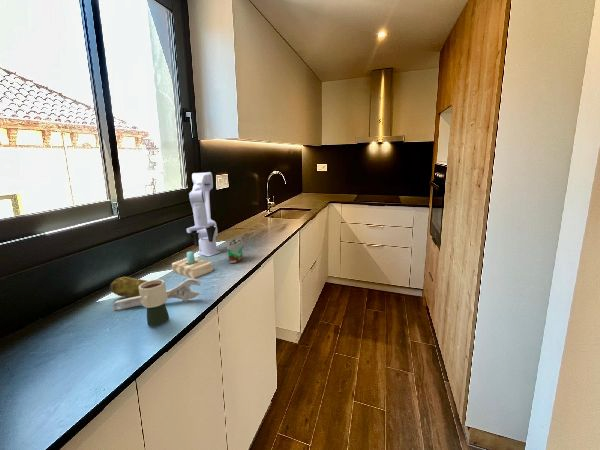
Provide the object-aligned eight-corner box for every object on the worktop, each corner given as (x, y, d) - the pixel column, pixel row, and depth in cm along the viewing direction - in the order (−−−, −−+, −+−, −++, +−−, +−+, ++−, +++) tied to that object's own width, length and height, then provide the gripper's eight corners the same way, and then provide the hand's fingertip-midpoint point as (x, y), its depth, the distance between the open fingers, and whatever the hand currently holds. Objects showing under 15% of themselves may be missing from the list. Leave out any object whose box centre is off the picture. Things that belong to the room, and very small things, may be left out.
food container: (241, 264, 135) (239, 244, 132) (229, 265, 135) (226, 245, 133) (247, 256, 147) (245, 237, 144) (235, 256, 147) (233, 238, 145)
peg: (188, 271, 130) (185, 252, 128) (193, 269, 132) (191, 251, 130) (191, 272, 128) (188, 253, 126) (197, 270, 130) (194, 252, 128)
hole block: (173, 271, 131) (171, 263, 130) (192, 264, 139) (191, 256, 138) (193, 278, 122) (191, 269, 121) (212, 270, 129) (211, 262, 129)
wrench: (119, 315, 101) (204, 296, 104) (116, 317, 99) (203, 298, 102) (111, 294, 99) (198, 276, 102) (109, 297, 97) (197, 278, 100)
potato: (146, 299, 105) (142, 279, 103) (109, 303, 104) (105, 283, 102) (155, 289, 113) (151, 270, 111) (120, 293, 112) (116, 274, 110)
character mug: (154, 314, 94) (147, 277, 91) (176, 312, 95) (170, 275, 92) (138, 333, 84) (130, 293, 81) (163, 331, 84) (155, 291, 81)
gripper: (191, 220, 125) (195, 249, 128) (218, 213, 136) (221, 241, 139) (182, 218, 129) (186, 247, 132) (209, 212, 140) (212, 239, 143)
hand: (204, 243), depth 136 cm, fingers open, 7 cm apart
